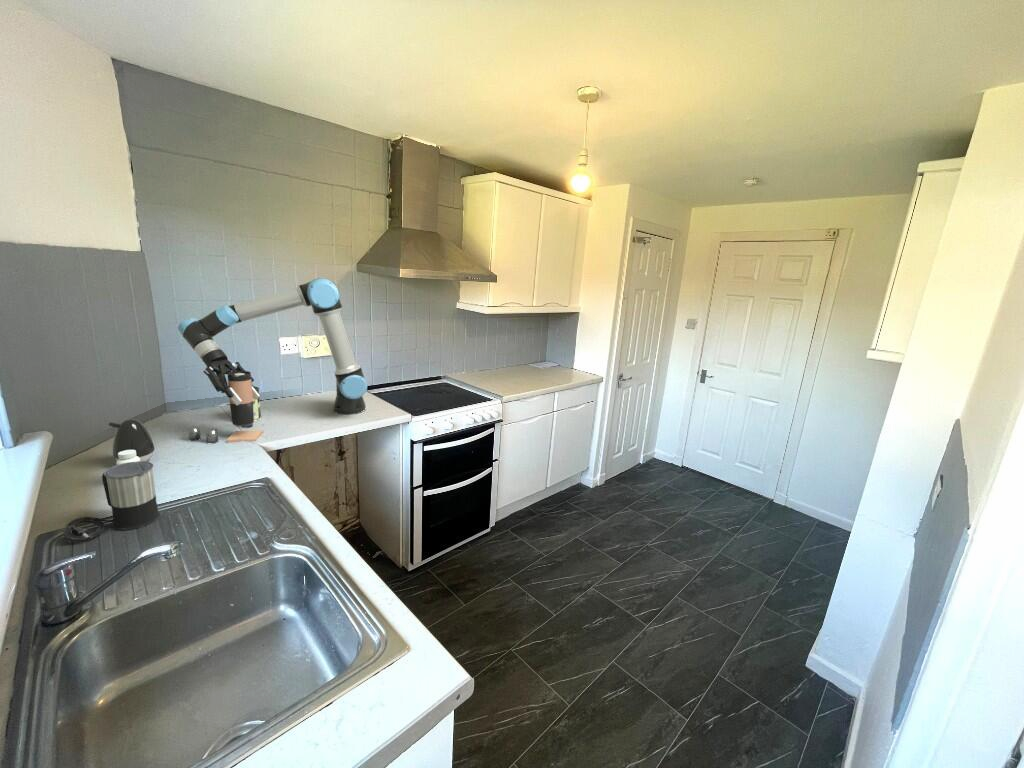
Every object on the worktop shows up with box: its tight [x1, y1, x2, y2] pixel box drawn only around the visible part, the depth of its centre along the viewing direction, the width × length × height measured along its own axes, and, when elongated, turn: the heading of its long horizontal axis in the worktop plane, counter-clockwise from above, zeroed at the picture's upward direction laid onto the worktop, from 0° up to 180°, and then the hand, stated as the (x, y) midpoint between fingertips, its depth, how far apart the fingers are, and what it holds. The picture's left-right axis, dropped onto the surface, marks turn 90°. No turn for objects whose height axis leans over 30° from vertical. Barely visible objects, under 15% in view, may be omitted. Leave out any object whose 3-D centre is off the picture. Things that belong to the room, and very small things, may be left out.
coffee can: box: [253, 385, 262, 423], centre depth 181 cm, size 10×10×14 cm
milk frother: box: [63, 461, 161, 543], centre depth 102 cm, size 14×16×15 cm
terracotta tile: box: [225, 429, 265, 443], centre depth 164 cm, size 10×10×1 cm
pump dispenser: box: [108, 418, 155, 462], centre depth 135 cm, size 10×10×15 cm
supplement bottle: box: [115, 450, 141, 466], centre depth 124 cm, size 5×5×10 cm
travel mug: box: [227, 370, 254, 426], centre depth 160 cm, size 8×8×20 cm
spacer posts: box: [187, 422, 254, 444], centre depth 164 cm, size 17×20×5 cm
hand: (248, 400), depth 159 cm, fingers closed on travel mug, 7 cm apart
